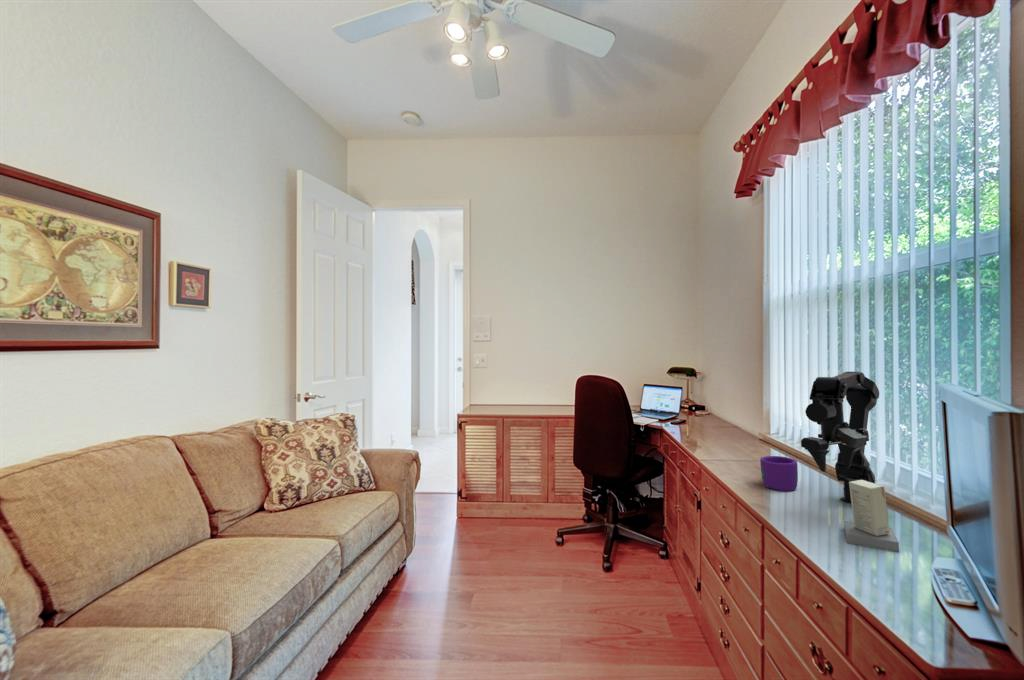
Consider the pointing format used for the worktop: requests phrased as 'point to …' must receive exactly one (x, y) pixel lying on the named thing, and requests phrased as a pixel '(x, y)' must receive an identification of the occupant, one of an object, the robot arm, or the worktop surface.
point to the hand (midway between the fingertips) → (835, 469)
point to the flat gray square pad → (870, 538)
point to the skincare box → (869, 507)
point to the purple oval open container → (779, 473)
